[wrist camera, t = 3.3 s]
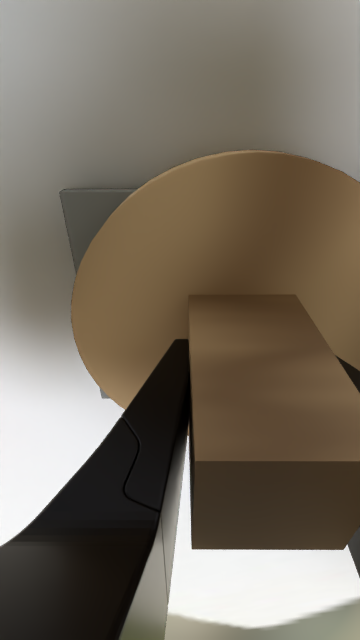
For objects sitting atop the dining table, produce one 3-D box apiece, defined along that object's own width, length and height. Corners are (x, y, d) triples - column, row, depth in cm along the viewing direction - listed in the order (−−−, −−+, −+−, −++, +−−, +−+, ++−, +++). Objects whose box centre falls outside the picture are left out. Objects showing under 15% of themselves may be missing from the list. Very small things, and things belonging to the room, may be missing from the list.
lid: (461, 148, 7) (1009, 208, 2) (342, 422, 13) (439, 607, 8) (43, 150, 7) (-221, 212, 3) (102, 422, 13) (55, 606, 8)
